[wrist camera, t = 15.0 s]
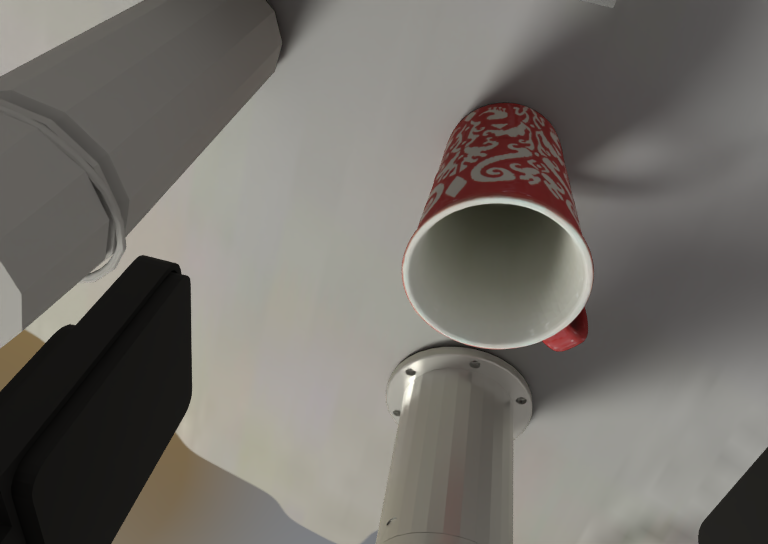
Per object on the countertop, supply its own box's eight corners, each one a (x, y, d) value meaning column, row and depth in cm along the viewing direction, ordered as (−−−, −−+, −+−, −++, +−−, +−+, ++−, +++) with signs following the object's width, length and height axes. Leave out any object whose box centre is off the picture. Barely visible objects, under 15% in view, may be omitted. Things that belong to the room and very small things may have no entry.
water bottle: (198, -67, 35) (-211, 100, 15) (313, 23, 37) (81, 274, 17) (140, 60, 40) (-220, 306, 20) (244, 133, 42) (5, 421, 22)
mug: (403, 134, 40) (363, 253, 30) (528, 56, 36) (533, 162, 25) (504, 269, 45) (500, 412, 35) (623, 215, 41) (661, 359, 30)
